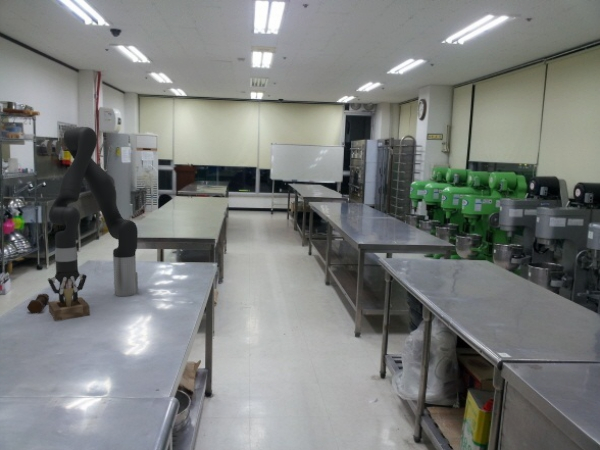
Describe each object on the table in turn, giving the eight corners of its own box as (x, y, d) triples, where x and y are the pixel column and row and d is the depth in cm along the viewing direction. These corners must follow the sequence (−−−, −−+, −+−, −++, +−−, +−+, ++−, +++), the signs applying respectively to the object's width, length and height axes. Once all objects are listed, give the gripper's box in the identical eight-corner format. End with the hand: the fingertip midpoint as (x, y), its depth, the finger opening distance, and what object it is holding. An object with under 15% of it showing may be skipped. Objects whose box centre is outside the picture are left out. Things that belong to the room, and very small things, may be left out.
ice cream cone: (64, 310, 187) (63, 273, 184) (79, 311, 187) (78, 274, 185) (58, 315, 181) (56, 277, 179) (73, 316, 182) (72, 278, 179)
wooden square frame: (81, 306, 192) (81, 297, 192) (89, 315, 183) (89, 305, 182) (49, 311, 185) (48, 301, 185) (55, 321, 176) (54, 310, 175)
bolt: (47, 305, 198) (37, 316, 184) (35, 300, 197) (24, 311, 182) (54, 293, 198) (45, 303, 184) (42, 288, 197) (32, 297, 182)
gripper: (83, 254, 188) (85, 296, 191) (43, 258, 179) (46, 302, 182) (88, 258, 182) (90, 301, 185) (47, 262, 173) (50, 307, 176)
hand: (68, 301), depth 183 cm, fingers closed on ice cream cone, 3 cm apart
